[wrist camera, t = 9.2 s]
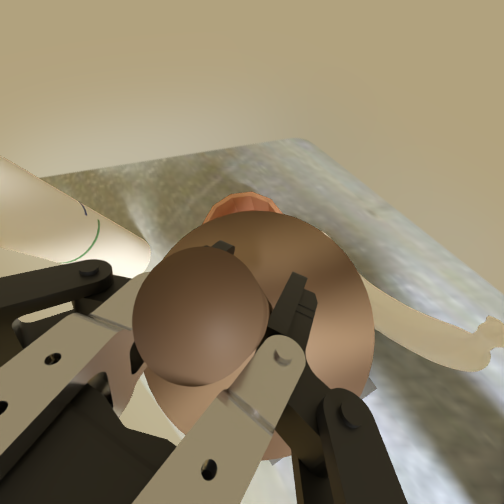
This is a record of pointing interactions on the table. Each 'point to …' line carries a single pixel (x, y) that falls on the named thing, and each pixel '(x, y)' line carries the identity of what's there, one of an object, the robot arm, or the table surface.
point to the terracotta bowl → (241, 205)
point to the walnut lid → (246, 311)
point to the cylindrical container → (62, 226)
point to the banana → (434, 333)
